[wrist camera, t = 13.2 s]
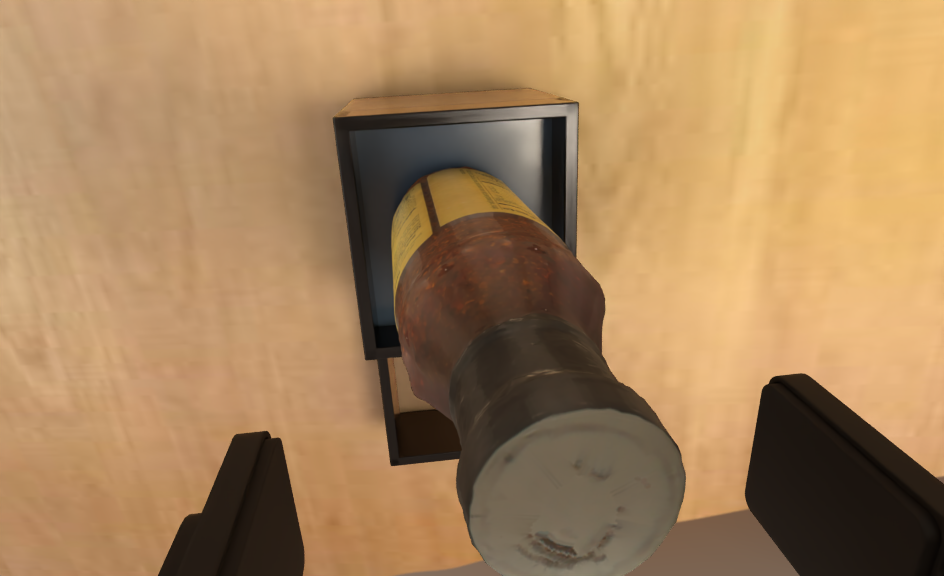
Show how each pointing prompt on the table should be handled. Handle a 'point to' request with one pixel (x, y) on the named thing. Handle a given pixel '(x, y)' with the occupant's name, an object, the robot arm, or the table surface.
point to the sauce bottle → (527, 385)
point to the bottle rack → (421, 153)
